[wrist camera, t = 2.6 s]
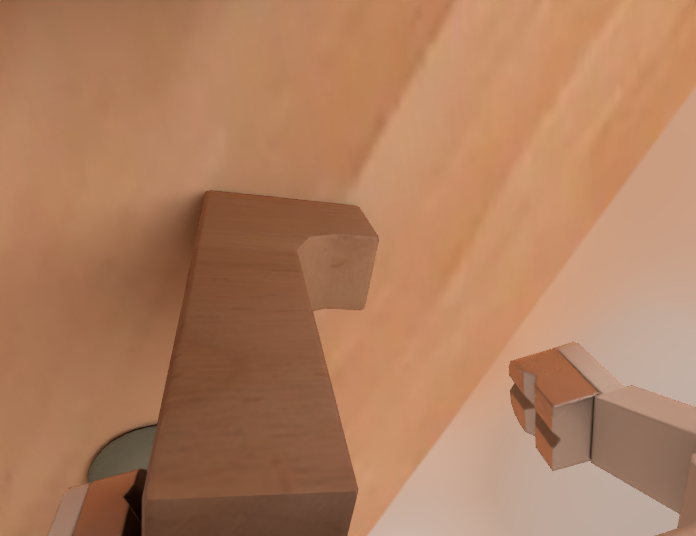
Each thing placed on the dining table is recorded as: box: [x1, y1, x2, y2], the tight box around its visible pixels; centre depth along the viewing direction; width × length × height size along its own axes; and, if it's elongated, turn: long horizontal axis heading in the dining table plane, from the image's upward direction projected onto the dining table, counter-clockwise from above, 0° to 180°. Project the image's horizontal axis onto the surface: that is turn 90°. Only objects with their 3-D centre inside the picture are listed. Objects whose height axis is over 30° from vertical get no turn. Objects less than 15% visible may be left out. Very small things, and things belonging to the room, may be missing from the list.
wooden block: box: [142, 190, 379, 536], centre depth 15 cm, size 6×3×15 cm, turn 80°
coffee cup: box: [88, 425, 157, 483], centre depth 24 cm, size 12×12×5 cm
